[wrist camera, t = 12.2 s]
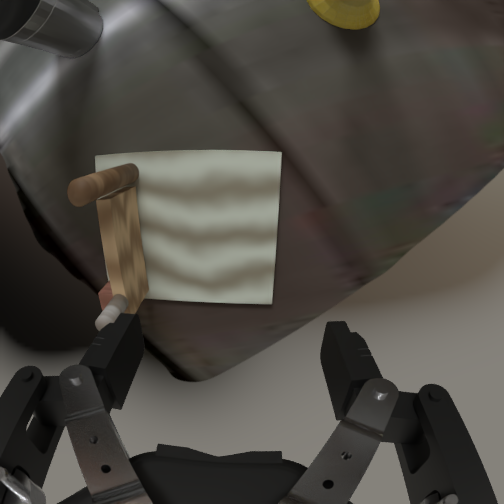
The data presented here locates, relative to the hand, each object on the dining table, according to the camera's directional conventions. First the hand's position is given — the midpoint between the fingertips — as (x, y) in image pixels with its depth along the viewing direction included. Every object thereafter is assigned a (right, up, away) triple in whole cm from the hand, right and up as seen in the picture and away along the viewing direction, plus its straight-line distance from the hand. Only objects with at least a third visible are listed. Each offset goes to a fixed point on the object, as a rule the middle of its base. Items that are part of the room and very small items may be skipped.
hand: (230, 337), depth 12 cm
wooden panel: (-17, +5, +32) cm, 36 cm away
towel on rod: (-9, +7, +33) cm, 35 cm away
